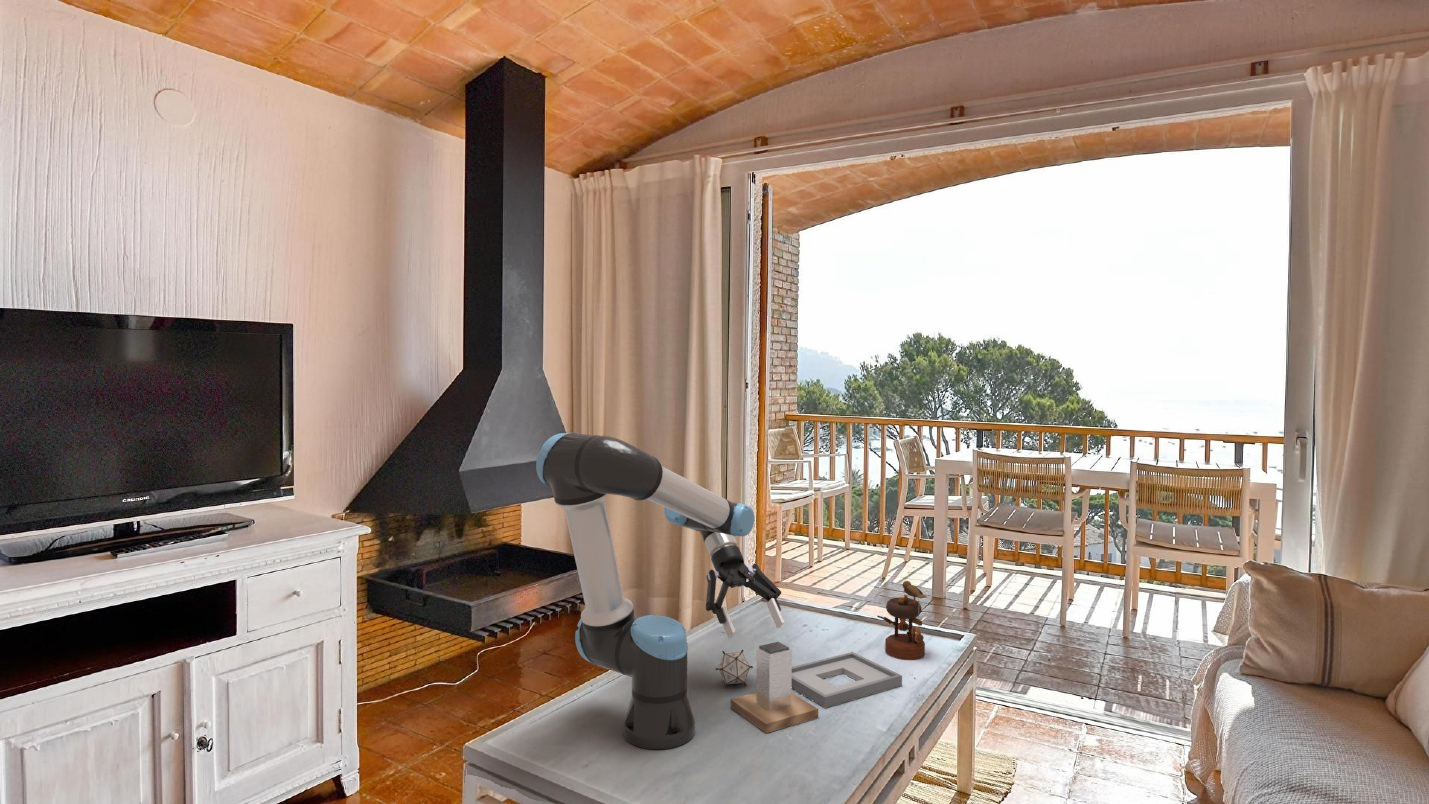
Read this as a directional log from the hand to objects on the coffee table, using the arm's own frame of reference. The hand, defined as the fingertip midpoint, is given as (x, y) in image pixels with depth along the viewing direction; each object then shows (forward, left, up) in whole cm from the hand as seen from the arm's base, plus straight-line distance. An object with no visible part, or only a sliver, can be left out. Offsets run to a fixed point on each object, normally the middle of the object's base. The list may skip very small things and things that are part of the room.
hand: (756, 630), depth 175 cm
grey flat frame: (+18, +14, -16) cm, 28 cm away
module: (+5, -6, -14) cm, 16 cm away
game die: (-7, +7, -16) cm, 19 cm away
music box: (+33, +39, -16) cm, 54 cm away
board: (+5, -6, -16) cm, 18 cm away
